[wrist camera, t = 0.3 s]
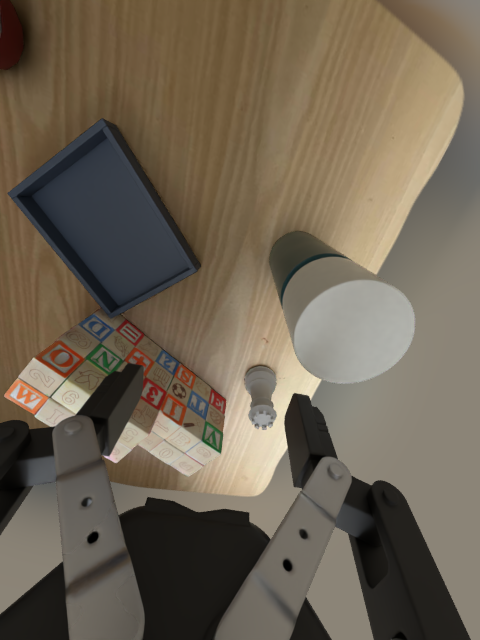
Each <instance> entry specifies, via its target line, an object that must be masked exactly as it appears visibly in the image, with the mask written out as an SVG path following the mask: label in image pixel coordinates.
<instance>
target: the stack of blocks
mask: <svg viewBox="0 0 480 640" xmlns="http://www.w3.org/2000/svg"><path fill="white" fill-rule="evenodd" d="M128 363H132V364H138V365H143V366H144V375H143V391H142V395H141V398H140V400H139V402H138V404H137V406H136V408H135V410H134V412H133V413H132V415H131V417H130V419H129V421H128V423H127V425H126V426H125V428H124V430H123V432H122V434H121V436H120V438H119V440H118V441H117V443H116V445H115V447H114V449H113V451H112V453H111V454H110V456H104V457H106V458H108V459H109V460H111V461H113V462H115V463H117V462H118V461H119V460H121V459H122V458H123V457H124V456H125V455H126V454H128V453H129V452H130V451H131V450H132V449H133V448H134V447H135V446H136V445H139V446H140V447H142V448H144V449H145V450H147V451H149V453H151V454H152V455H154V456H156V457H157V458H159V459H160V460H162V461H163V462H165V463H166V464H169V465H171V466H172V467H174V468H175V469H177V470H178V471H180V472H181V473H183V474H185V475H186V476H190V475H191V474H193V473H194V472H196V471H197V470H199V469H201V468H202V467H203V466H204V465H206V464H207V463H209V462H210V461H212V460H213V459H215V458H216V457H218V456H219V455H221V450H222V441H223V427H224V418H225V415H224V414H225V408H226V400H225V399H224V398H223V397H221V396H220V395H219V394H218V393H216V392H215V391H214V390H213V389H211V387H210V386H208V385H207V384H206V383H205V382H203V381H202V380H201V379H200V378H198V377H196V375H194V374H193V373H192V372H191V371H190V370H188V369H187V368H186V367H185V366H183V365H182V364H181V363H179V362H178V361H177V360H175V359H174V358H173V357H172V356H170V355H169V354H168V353H166V352H165V351H164V350H162V349H161V348H160V347H159V346H157V345H156V344H155V343H154V342H152V341H151V340H150V339H149V338H148V337H146V336H145V335H144V334H143V333H142V332H141V331H140V330H138V329H137V328H136V327H135V326H133V325H132V324H131V323H130V322H129V321H127V320H126V319H125V318H124V317H123V316H121V315H120V314H119V315H117V316H115V317H114V318H112V319H110V318H109V316H108V315H107V314H106V313H105V312H104V310H103V309H102V308H100V309H98V310H97V311H96V312H95V313H93V314H92V315H91V316H89V317H88V318H86V319H85V320H83V321H82V322H81V323H79V324H78V325H76V326H74V327H73V328H71V329H70V330H69V331H67V332H66V333H64V334H63V335H61V336H60V337H59V338H58V339H56V341H55V342H54V343H53V344H52V345H50V346H49V347H48V348H46V349H45V350H44V351H42V352H41V353H39V354H38V355H37V356H35V357H34V358H33V359H32V360H31V362H30V363H29V364H28V365H27V367H26V368H25V369H24V370H23V372H22V373H21V374H20V375H19V378H18V379H17V380H16V381H15V382H14V383H13V385H12V386H11V387H10V388H9V390H8V391H7V392H6V394H5V395H4V397H6V398H7V399H9V400H11V401H12V402H14V403H16V404H18V405H19V406H21V407H22V408H24V409H26V410H27V411H29V412H31V413H32V414H35V417H36V418H37V419H39V420H40V421H42V422H44V423H45V424H47V425H49V426H51V427H54V426H56V425H57V424H58V423H59V422H61V421H62V420H64V419H66V418H68V417H71V416H75V415H76V414H77V412H78V411H79V410H80V409H81V407H82V406H83V405H84V404H85V402H86V401H87V400H88V398H89V397H90V396H91V395H92V393H93V392H95V390H96V388H97V387H98V386H99V385H100V383H101V382H102V381H103V380H104V378H105V377H106V376H108V375H109V374H111V373H112V372H114V371H119V372H122V370H123V369H124V367H125V366H126V365H127V364H128Z"/></svg>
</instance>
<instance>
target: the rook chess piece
mask: <svg viewBox="0 0 480 640" xmlns="http://www.w3.org/2000/svg"><path fill="white" fill-rule="evenodd" d="M244 380H245V387H246V390H247V391H248V392H249V394H250V395H251V398H252V402H251V405H250V407H251V410H250V411H249V414H248V415H249V419H250V420H251V421H252V425H253V424H255V428H257V429H259V426H261V427H262V430H266V429H267V428H266V426H268V425H269V427H270V428H271V427H272V426H273V422H274V420H275V419H276V416H277V415H276V411H275V410H274V409H273V402H272V401H271V397H272V394H273V392H274V390H275V387H276V375H275V374H274V372H273V371H272V370H270V369H269V368H267V367H262V366H259V367H254V368H252V369H250V370H249V371H248V372H247V373H246V375H245V379H244Z"/></svg>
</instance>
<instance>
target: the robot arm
mask: <svg viewBox="0 0 480 640" xmlns="http://www.w3.org/2000/svg"><path fill="white" fill-rule="evenodd" d="M143 375H144V366H143V365H138V364H132V363H128V364H127V365H126V366H125V367H124V369H123V370H122V372H119V371H114V372H112V373H111V374H109V375H108V376H106V377H105V378H104V380H103V381H102V382H101V383H100V385H99V386H98V387H97V388H96V390H95V392H93V393H92V395H91V396H90V397H89V398H88V400H87V401H86V402H85V404H84V405H83V406H82V407H81V409H80V410H79V411H78V412H77V414H76V415H75V416H71V417H68V418H66V419H64V420H62V421H61V422H59V423H58V424H57V425H56V426H54V427H48V428H38V429H29V426H28V424H27V423H26V422H24V421H20V420H11V421H6V422H3V423H0V535H1V533H2V532H3V530H4V529H5V527H6V526H7V524H8V523H9V521H10V520H11V519H12V517H13V515H14V514H15V513H16V511H17V510H18V508H19V507H20V505H21V504H22V502H23V501H24V499H25V497H26V496H27V495H28V493H29V492H30V490H31V489H32V487H33V486H34V485H40V484H46V483H52V482H56V490H57V501H58V511H59V522H60V533H61V544H62V555H63V562H62V563H60V564H59V565H58V566H57V567H56V568H54V569H53V570H52V571H51V572H50V573H49V574H47V575H46V576H45V577H44V578H43V579H42V580H40V581H39V582H38V583H37V584H36V585H34V586H33V587H32V588H31V589H30V590H28V591H27V592H26V593H25V594H24V595H22V596H21V597H20V598H19V599H18V600H17V601H16V602H14V603H13V604H12V605H11V606H10V607H8V608H7V609H6V610H5V611H4V612H2V613H1V614H0V640H332V639H331V638H330V636H329V634H328V633H327V631H326V630H325V628H324V626H323V625H322V623H321V621H320V620H319V618H318V616H317V615H316V613H315V611H314V610H313V608H312V606H311V605H310V603H309V601H308V600H307V598H306V595H307V592H308V590H309V588H310V585H311V583H312V580H313V578H314V576H315V573H316V571H317V568H318V566H319V563H320V561H321V559H322V556H323V554H324V552H325V549H326V547H327V544H328V542H329V540H330V537H331V535H332V532H333V530H334V528H335V527H337V528H339V529H341V530H343V531H345V532H347V533H348V535H349V539H350V543H351V547H352V551H353V556H354V560H355V564H356V568H357V572H358V576H359V580H360V584H361V588H362V592H363V597H364V601H365V605H366V609H367V613H368V617H369V621H370V626H371V630H372V634H373V638H374V640H471V639H470V637H469V635H468V633H467V631H466V628H465V627H464V624H463V622H462V620H461V618H460V616H459V613H458V611H457V609H456V607H455V605H454V602H453V600H452V598H451V596H450V594H449V592H448V589H447V587H446V585H445V583H444V581H443V579H442V577H441V575H440V572H439V570H438V568H437V566H436V564H435V562H434V559H433V557H432V555H431V553H430V551H429V549H428V547H427V544H426V542H425V540H424V538H423V535H422V533H421V531H420V529H419V527H418V525H417V522H416V520H415V518H414V516H413V514H412V512H411V510H410V507H409V505H408V503H407V501H406V499H405V497H404V496H403V495H402V493H401V492H400V491H399V490H398V489H397V488H396V487H394V486H393V485H391V484H390V483H388V482H385V481H381V480H380V481H376V482H374V483H373V485H372V486H371V485H369V484H367V483H365V482H363V481H361V480H358V479H356V478H355V477H353V476H351V474H350V472H349V470H348V468H347V467H346V466H345V465H344V464H343V463H342V462H340V461H339V460H338V458H337V455H336V452H335V449H334V446H333V443H332V440H331V437H330V434H329V433H328V428H327V426H326V422H325V419H324V416H323V414H322V413H321V412H320V410H319V409H318V408H317V407H313V406H312V405H311V401H310V398H309V396H307V395H302V394H296V393H294V394H293V396H292V398H291V401H290V404H289V406H288V409H287V412H286V415H285V422H284V424H285V432H286V439H287V445H288V451H289V458H290V465H291V472H292V478H293V485H294V487H299V488H302V491H300V493H299V494H298V496H297V498H296V499H295V501H294V503H293V504H292V506H291V507H290V509H289V511H288V512H287V514H286V516H285V517H284V519H283V520H282V522H281V524H280V525H279V527H278V529H277V530H276V532H275V534H274V535H273V537H272V539H270V538H269V537H268V536H267V535H266V534H265V532H263V531H262V530H261V529H260V528H258V527H257V526H256V525H254V524H253V523H250V522H249V513H248V512H242V511H235V510H229V509H221V510H213V511H207V512H195V511H193V510H191V509H189V508H187V507H185V506H182V505H180V504H178V503H176V502H174V501H169V500H163V499H156V498H150V497H148V498H147V501H146V503H145V506H141V507H137V508H133V509H130V510H128V511H126V512H124V513H122V514H120V515H118V512H117V508H116V504H115V500H114V496H113V492H112V488H111V484H110V480H109V476H108V472H107V468H106V465H105V461H104V460H102V457H101V455H103V456H110V454H111V453H112V451H113V449H114V447H115V445H116V443H117V441H118V440H119V438H120V436H121V434H122V432H123V430H124V428H125V426H126V425H127V423H128V421H129V419H130V417H131V415H132V413H133V412H134V410H135V408H136V406H137V404H138V402H139V400H140V398H141V395H142V391H143Z"/></svg>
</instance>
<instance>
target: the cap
mask: <svg viewBox="0 0 480 640" xmlns="http://www.w3.org/2000/svg"><path fill="white" fill-rule="evenodd" d="M282 306H283V312H284V316H285V320H286V323H287V326H288V330H289V333H290V337H291V340H292V343H293V347H294V350H295V354H296V356H297V358H298V360H299V362H300V363H301V364H302V366H303V367H304V368H305V369H306V370H307V371H308V372H310V373H311V374H313V375H314V376H316V377H318V378H320V379H322V380H325V381H328V382H333V383H341V384H343V383H345V384H347V383H357V382H362V381H365V380H368V379H371V378H373V377H376V376H378V375H380V374H382V373H384V372H385V371H387V370H388V369H390V368H391V367H392V366H393V365H395V364H396V363H397V362H398V361H399V360H400V358H402V356H403V355H404V354H405V352H406V351H407V349H408V348H409V346H410V344H411V341H412V339H413V336H414V332H415V315H414V311H413V308H412V306H411V304H410V302H409V300H408V299H407V297H406V296H405V295H404V294H403V293H402V292H401V291H399V290H398V289H397V288H395V287H394V286H392V285H391V284H389V283H388V282H386V281H384V280H383V279H381V278H380V277H378V276H376V275H375V274H373V273H372V272H370V271H368V270H367V269H365V268H364V267H362V266H360V265H359V264H357V263H355V262H354V261H352V260H349V259H346V258H342V257H326V258H321V259H317V260H315V261H312V262H310V263H308V264H307V265H305V266H303V267H302V268H301V269H299V270H298V271H297V272H296V273H295V274H294V276H293V277H292V278H291V279H290V281H289V283H288V284H287V286H286V289H285V291H284V295H283V303H282Z"/></svg>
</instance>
